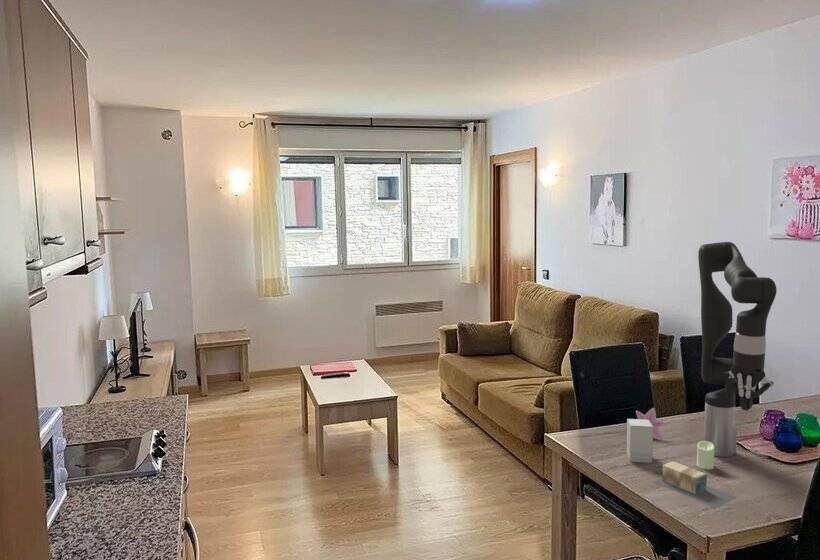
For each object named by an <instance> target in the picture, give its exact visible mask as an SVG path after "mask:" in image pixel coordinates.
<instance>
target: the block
mask: <svg viewBox="0 0 820 560" xmlns="http://www.w3.org/2000/svg"><path fill="white" fill-rule="evenodd" d="M661 474H662V481H665V482H667V483H669V484H672V485H674V486H677V487H679V488H682V489H684V490H686V491H689V492H691V493H694V494H699V493H701V492H703V491H705V490H706V485H707V480H708V479H707V477H708V476H707V473H705V472H702V471H699V470H696V469H694V468H692V467H689V466H686V465H683V464H680V463H678V462H676V461H670V462H668V463H665V464H663V465H662V473H661Z"/></svg>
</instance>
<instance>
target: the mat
mask: <svg viewBox="0 0 820 560" xmlns="http://www.w3.org/2000/svg"><path fill="white" fill-rule="evenodd" d="M653 483H655V484H656V485H659V486H662V487H664V488H666V489H669V490H671V491H673V492H676V493H679V494H681V495H683V496H686V497H688V498H690V499H692V500H695V501H697V502H700V503H702V504H705V505H707V506H710V507H712V508H714V509H715V508H717V507H720V506H721V505H724V504H725V503H728V502H730V501H732V500H735V499H737V498H738V497H737V496H734V495H732V494H730V493H727V492H724V491H723V490H719V489H717V488H714V487H712V486H709V485H708V484H706V490H705V491H703V492H701V493H699V494H694V493H691V492H689V491H686V490H684V489H682V488H679V487H677V486H674V485H672V484H669V483H667V482H665V481H662V478H658V479H656V480H653Z"/></svg>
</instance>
